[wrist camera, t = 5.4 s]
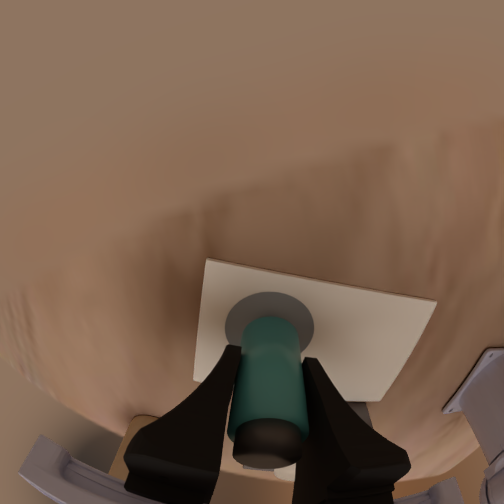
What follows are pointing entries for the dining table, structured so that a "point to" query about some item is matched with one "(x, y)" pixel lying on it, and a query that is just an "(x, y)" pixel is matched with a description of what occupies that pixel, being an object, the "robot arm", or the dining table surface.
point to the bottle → (269, 397)
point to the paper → (313, 323)
